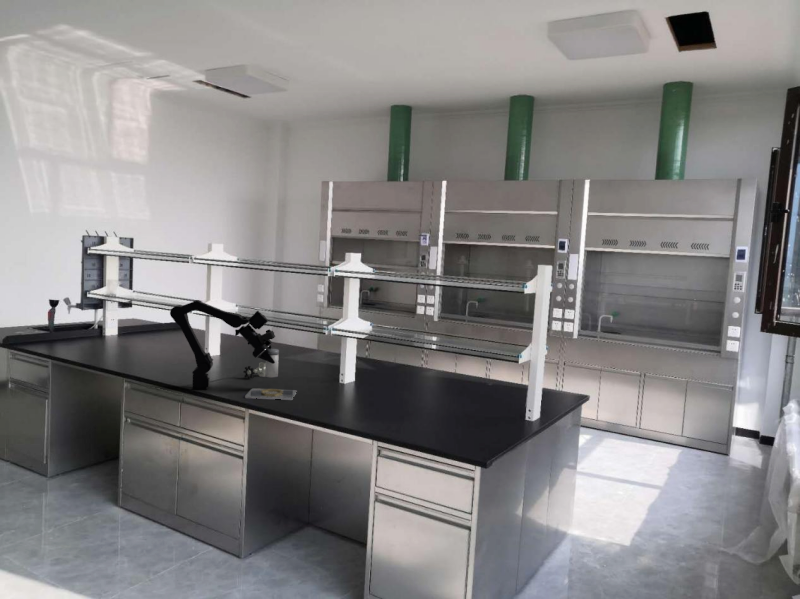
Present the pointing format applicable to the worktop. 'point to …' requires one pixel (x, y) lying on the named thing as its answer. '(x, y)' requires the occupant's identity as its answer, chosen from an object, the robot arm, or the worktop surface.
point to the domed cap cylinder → (272, 368)
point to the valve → (256, 370)
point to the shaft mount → (271, 394)
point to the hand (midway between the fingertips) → (275, 361)
